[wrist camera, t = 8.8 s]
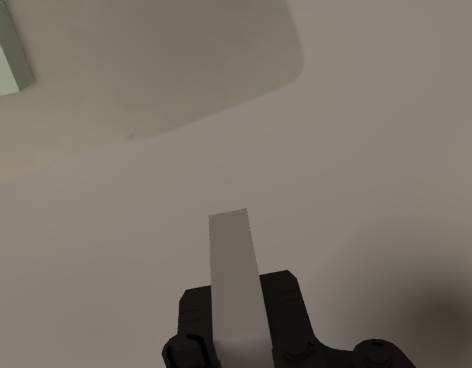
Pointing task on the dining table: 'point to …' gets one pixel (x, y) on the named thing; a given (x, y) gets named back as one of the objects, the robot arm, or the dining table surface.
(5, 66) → the block
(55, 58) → the dining table surface
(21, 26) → the dining table surface
